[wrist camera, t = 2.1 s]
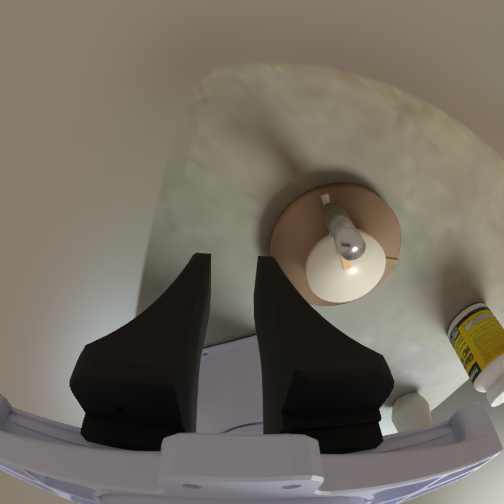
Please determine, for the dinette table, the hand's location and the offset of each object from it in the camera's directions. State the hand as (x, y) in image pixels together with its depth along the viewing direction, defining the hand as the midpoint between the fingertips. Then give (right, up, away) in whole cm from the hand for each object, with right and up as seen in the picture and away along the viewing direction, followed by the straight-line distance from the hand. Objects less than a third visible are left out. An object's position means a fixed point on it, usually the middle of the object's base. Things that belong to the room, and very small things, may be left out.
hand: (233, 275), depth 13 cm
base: (+7, +1, +11) cm, 13 cm away
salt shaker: (+23, -21, +25) cm, 40 cm away
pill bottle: (+26, -7, +17) cm, 32 cm away
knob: (+7, +1, +8) cm, 10 cm away
